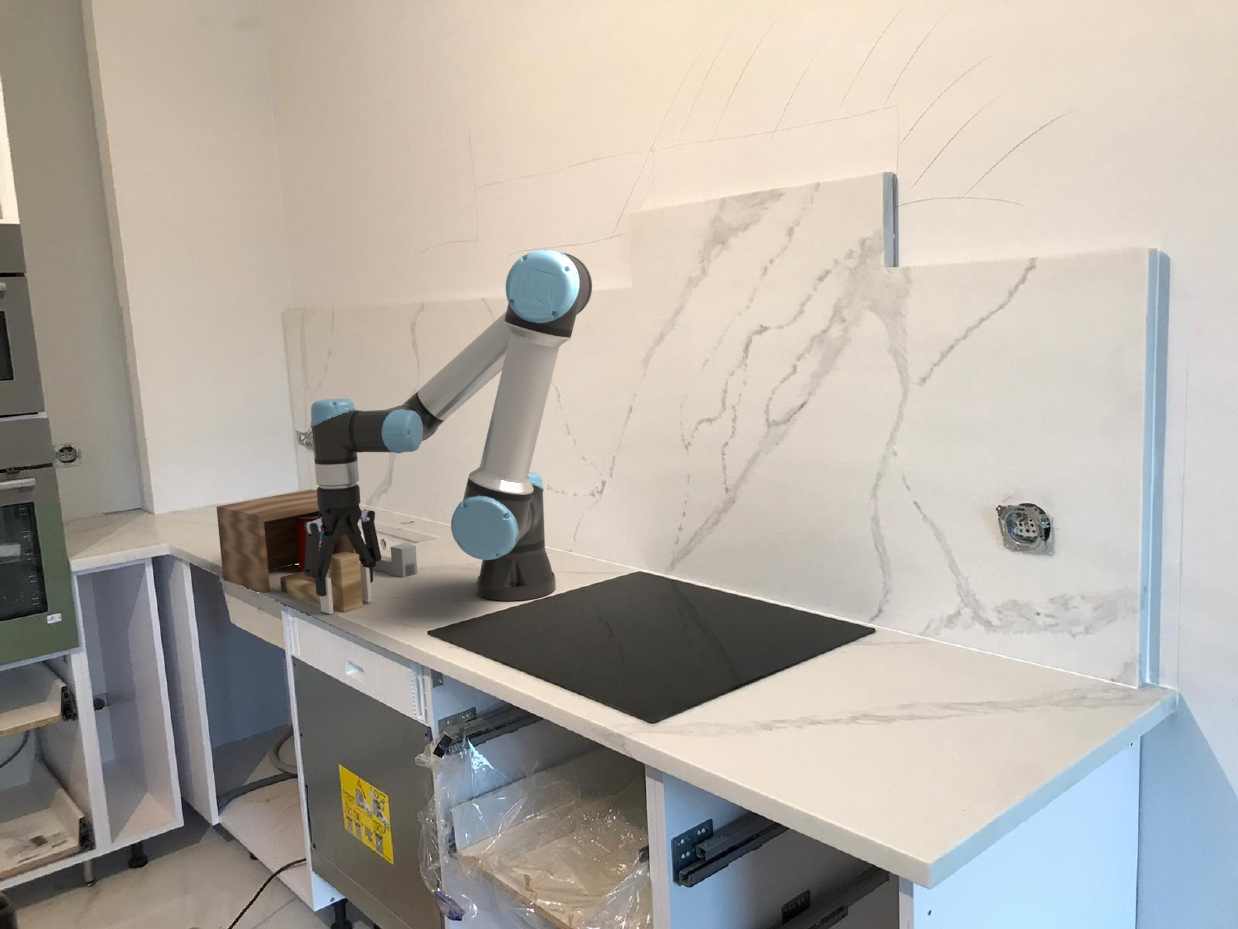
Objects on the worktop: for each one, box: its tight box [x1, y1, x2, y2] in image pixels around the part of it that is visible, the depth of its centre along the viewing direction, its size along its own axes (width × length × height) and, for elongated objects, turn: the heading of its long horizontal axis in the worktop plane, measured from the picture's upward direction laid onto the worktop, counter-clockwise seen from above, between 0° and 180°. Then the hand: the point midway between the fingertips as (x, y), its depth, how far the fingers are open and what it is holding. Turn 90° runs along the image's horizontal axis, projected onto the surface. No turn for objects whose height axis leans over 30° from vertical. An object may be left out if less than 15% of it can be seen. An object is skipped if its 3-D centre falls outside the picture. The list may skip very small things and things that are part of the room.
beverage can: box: [296, 512, 330, 571], centre depth 211 cm, size 7×7×12 cm
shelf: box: [216, 488, 356, 594], centre depth 208 cm, size 16×22×16 cm
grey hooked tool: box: [372, 542, 418, 578], centre depth 209 cm, size 14×4×6 cm, turn 50°
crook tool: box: [279, 551, 364, 613], centre depth 191 cm, size 22×10×10 cm, turn 50°
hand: (346, 606), depth 184 cm, fingers open, 8 cm apart
